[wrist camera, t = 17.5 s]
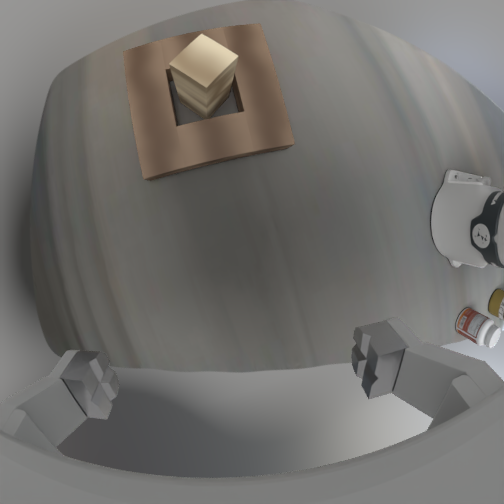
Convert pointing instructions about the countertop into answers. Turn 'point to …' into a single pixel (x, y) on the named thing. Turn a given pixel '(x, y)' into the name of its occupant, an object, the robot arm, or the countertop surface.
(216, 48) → the maple peg
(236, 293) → the countertop surface
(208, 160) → the socket block
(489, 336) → the pill bottle
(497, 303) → the paper tube
